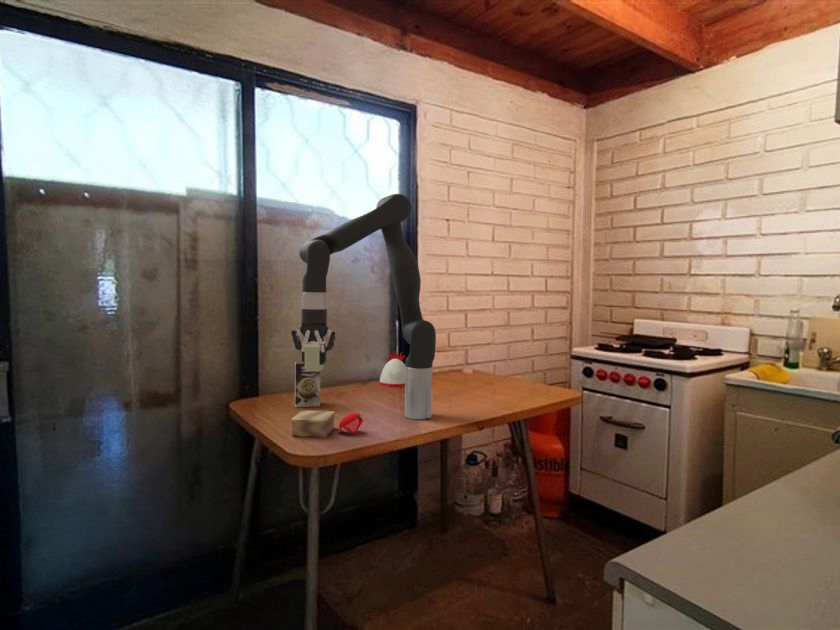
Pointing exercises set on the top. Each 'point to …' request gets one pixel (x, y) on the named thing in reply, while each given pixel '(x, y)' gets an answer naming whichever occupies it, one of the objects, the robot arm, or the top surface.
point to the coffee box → (306, 386)
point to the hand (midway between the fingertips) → (314, 363)
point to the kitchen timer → (393, 372)
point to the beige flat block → (313, 423)
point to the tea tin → (313, 357)
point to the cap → (351, 423)
